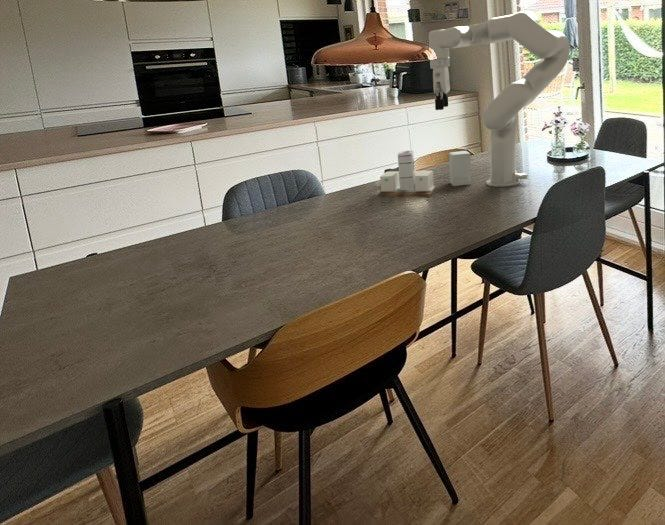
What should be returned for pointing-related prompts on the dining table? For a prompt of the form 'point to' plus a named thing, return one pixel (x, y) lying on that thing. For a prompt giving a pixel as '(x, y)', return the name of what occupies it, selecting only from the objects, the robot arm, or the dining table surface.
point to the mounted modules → (392, 181)
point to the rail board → (407, 193)
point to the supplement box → (460, 168)
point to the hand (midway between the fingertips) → (442, 108)
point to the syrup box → (406, 170)
